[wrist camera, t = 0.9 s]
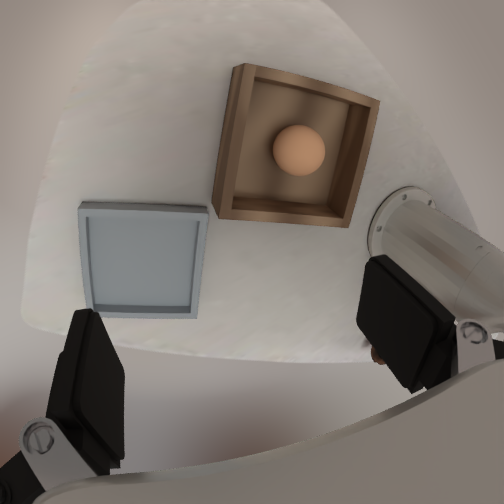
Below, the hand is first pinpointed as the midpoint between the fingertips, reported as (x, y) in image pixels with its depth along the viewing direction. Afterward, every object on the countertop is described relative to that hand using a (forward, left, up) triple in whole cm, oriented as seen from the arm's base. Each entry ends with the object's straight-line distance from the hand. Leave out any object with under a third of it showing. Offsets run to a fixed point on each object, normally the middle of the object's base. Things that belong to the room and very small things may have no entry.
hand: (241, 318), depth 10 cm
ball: (-10, -3, -20) cm, 23 cm away
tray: (+4, +11, -23) cm, 26 cm away
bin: (-10, -3, -23) cm, 25 cm away
